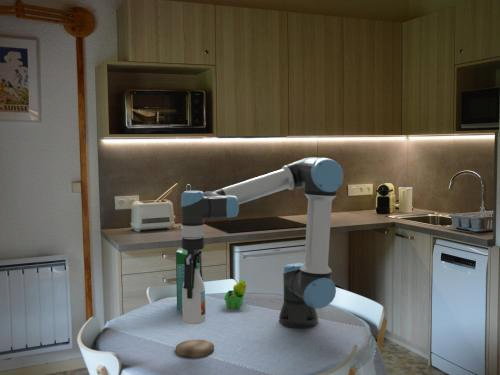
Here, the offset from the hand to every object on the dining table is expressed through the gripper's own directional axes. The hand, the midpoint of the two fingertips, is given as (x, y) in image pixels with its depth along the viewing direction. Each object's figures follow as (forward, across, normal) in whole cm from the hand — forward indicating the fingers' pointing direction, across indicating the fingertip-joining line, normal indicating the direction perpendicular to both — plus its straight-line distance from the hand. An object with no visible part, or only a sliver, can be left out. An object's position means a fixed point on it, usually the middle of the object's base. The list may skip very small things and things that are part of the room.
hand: (193, 303), depth 183 cm
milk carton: (+16, -47, -15) cm, 52 cm away
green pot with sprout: (+16, -51, +5) cm, 53 cm away
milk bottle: (+6, 0, 0) cm, 6 cm away
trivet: (+16, 0, 0) cm, 16 cm away
